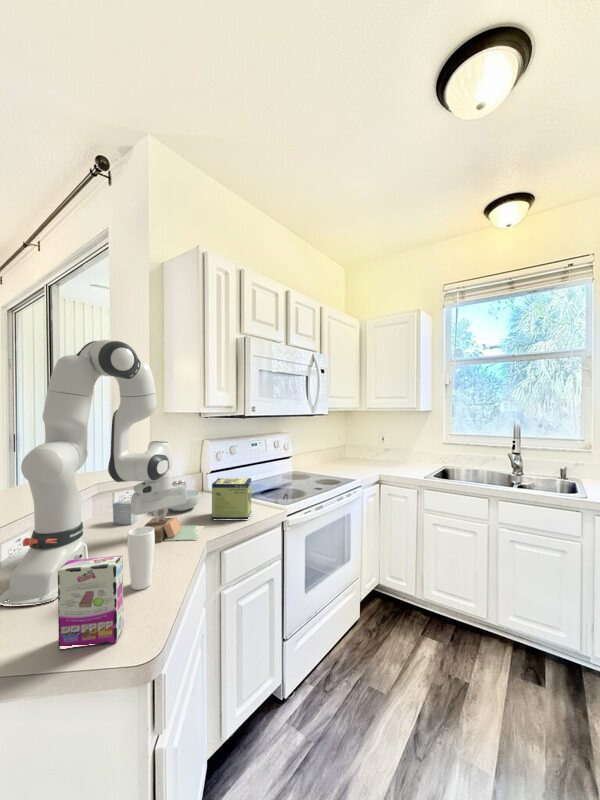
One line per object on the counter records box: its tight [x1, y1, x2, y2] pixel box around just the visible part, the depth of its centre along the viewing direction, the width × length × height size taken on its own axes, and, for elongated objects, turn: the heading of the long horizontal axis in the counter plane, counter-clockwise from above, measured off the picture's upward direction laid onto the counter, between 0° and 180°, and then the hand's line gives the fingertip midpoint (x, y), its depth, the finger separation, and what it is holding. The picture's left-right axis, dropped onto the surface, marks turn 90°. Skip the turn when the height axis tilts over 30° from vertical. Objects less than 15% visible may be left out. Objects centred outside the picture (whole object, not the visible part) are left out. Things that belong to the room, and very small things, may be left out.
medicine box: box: [112, 500, 138, 526], centre depth 143 cm, size 8×4×9 cm, turn 84°
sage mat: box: [163, 524, 199, 542], centre depth 132 cm, size 14×12×1 cm
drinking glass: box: [126, 525, 155, 591], centre depth 95 cm, size 7×7×15 cm
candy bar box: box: [57, 555, 124, 647], centre depth 74 cm, size 11×5×16 cm, turn 101°
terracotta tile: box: [163, 516, 181, 538], centre depth 130 cm, size 7×5×2 cm
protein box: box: [211, 477, 252, 520], centre depth 151 cm, size 10×16×16 cm
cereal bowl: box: [168, 489, 201, 512], centre depth 161 cm, size 17×17×7 cm
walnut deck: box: [143, 517, 172, 543], centre depth 130 cm, size 14×8×4 cm, turn 3°
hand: (160, 520), depth 130 cm, fingers closed
